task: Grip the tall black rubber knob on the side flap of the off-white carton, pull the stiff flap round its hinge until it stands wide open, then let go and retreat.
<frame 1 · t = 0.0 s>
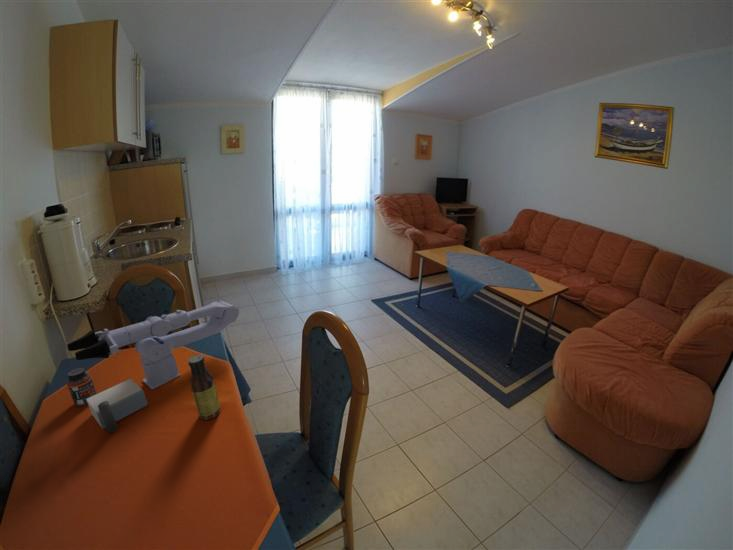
hand: (71, 352, 97), 22 cm above the table, tool horizontal, fingers open, 7 cm apart
sauce bottle: (209, 413, 104), on the table
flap: (124, 406, 100), point 5 cm above the table, hinge at 0.0°
carton: (120, 409, 106), on the table
supplement bottle: (87, 401, 110), on the table
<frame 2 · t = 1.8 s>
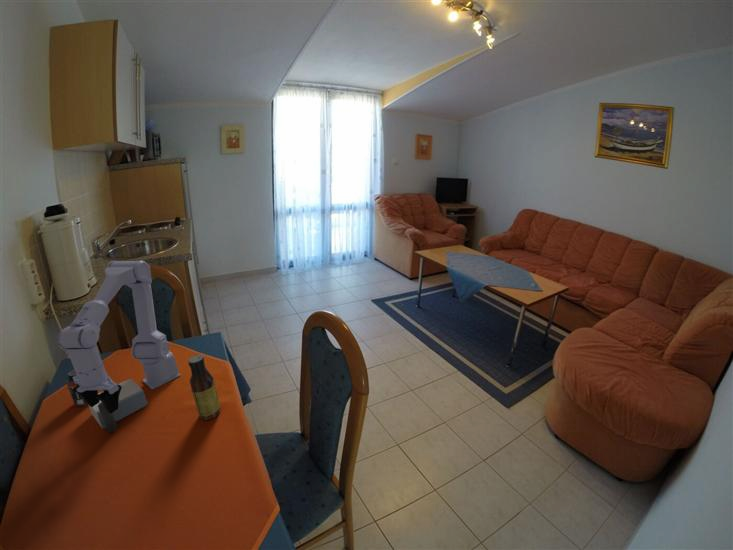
hand: (104, 407, 94), 9 cm above the table, tool pointing down, fingers open, 7 cm apart
nothing on the table moved.
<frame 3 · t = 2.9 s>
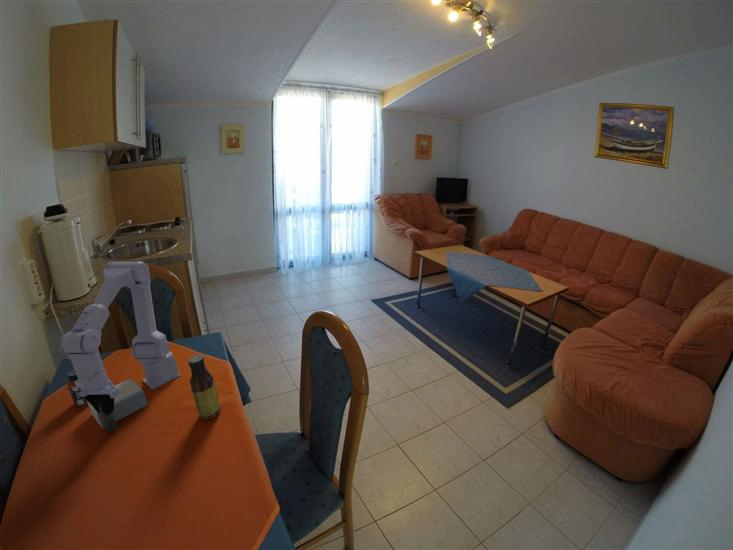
hand: (105, 411, 95), 7 cm above the table, tool pointing down, fingers closed on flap, 2 cm apart
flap: (124, 406, 100), point 5 cm above the table, hinge at 0.0°, touching gripper
everything else where it was.
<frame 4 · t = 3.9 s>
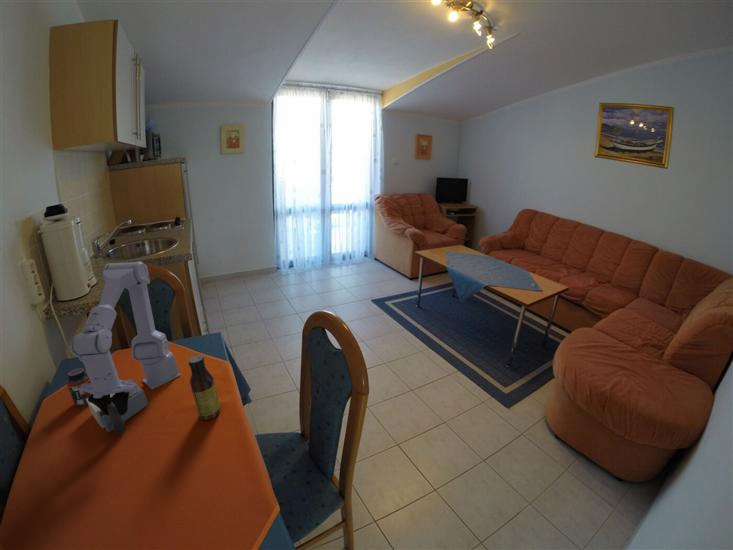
hand: (116, 412, 94), 7 cm above the table, tool pointing down, fingers open, 4 cm apart
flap: (129, 406, 99), point 5 cm above the table, hinge at 14.8°, touching gripper
everything else where it was.
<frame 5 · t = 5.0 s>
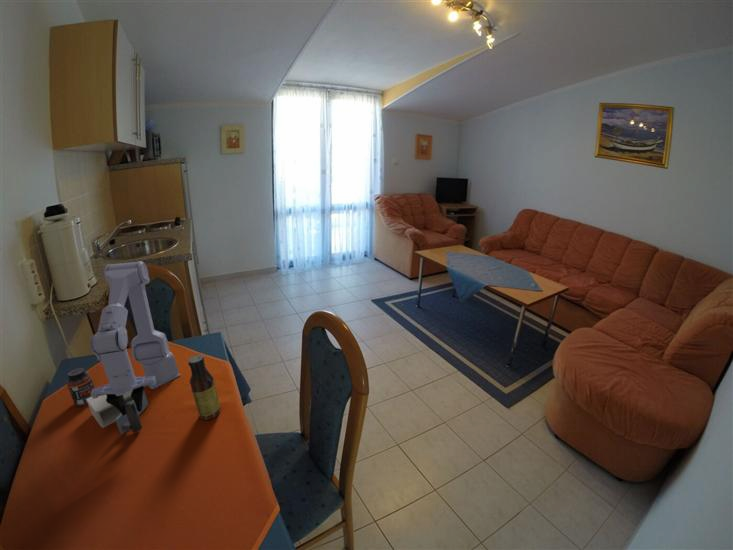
hand: (132, 410, 95), 7 cm above the table, tool pointing down, fingers open, 3 cm apart
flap: (138, 405, 100), point 5 cm above the table, hinge at 37.6°, touching gripper
everything else where it was.
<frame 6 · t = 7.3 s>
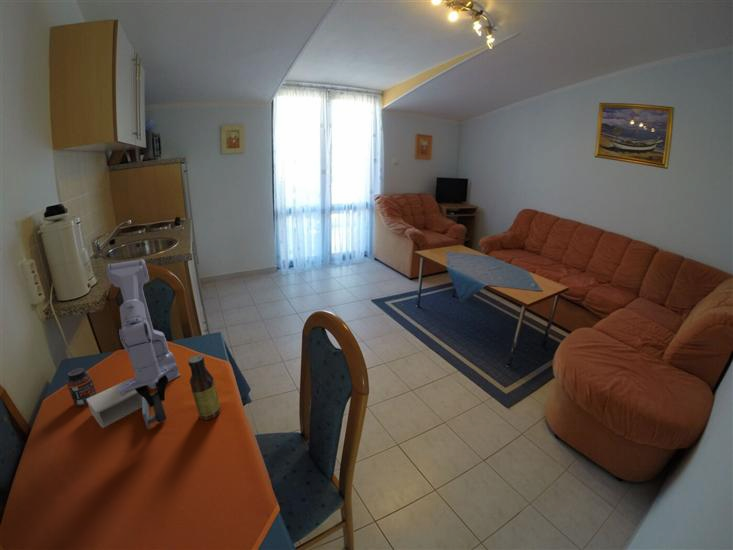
hand: (156, 402, 98), 7 cm above the table, tool pointing down, fingers closed on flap, 2 cm apart
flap: (152, 400, 102), point 5 cm above the table, hinge at 70.3°, touching gripper
everything else where it was.
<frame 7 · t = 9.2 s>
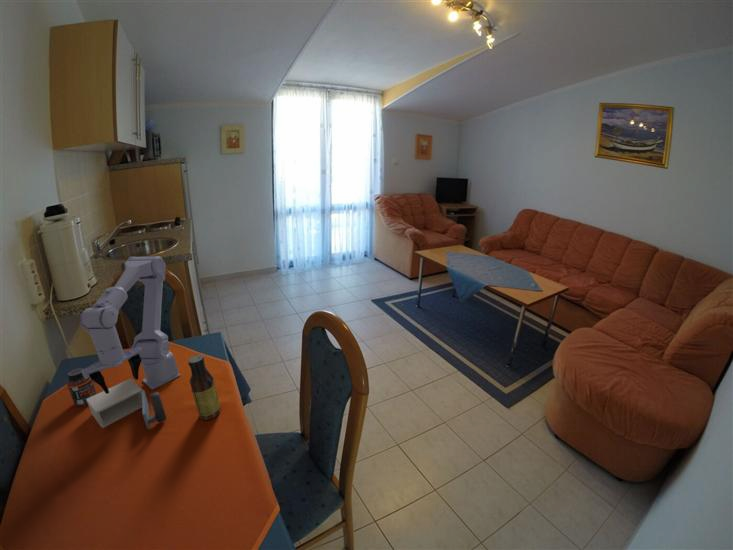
hand: (121, 384, 101), 10 cm above the table, tool pointing down, fingers open, 7 cm apart
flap: (152, 400, 102), point 5 cm above the table, hinge at 70.2°
everything else where it was.
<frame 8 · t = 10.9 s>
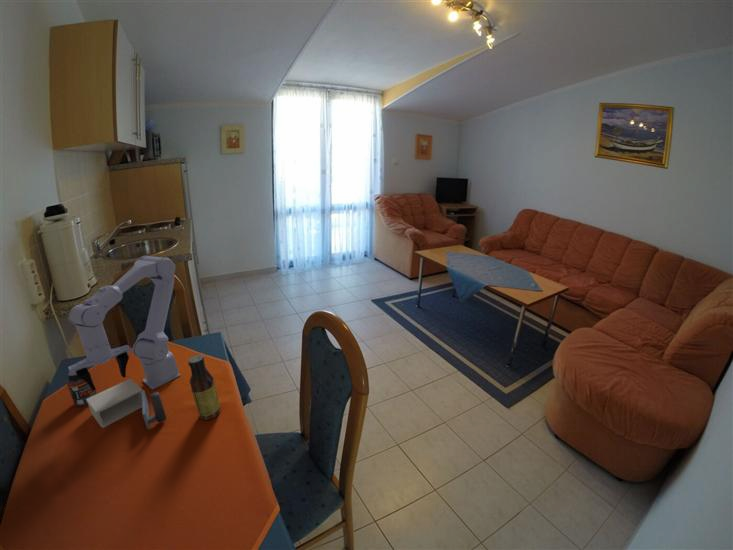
hand: (109, 382, 102), 10 cm above the table, tool pointing down, fingers open, 7 cm apart
nothing on the table moved.
at the end: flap at +70° (first picture: +0°); the gripper is holding nothing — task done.
